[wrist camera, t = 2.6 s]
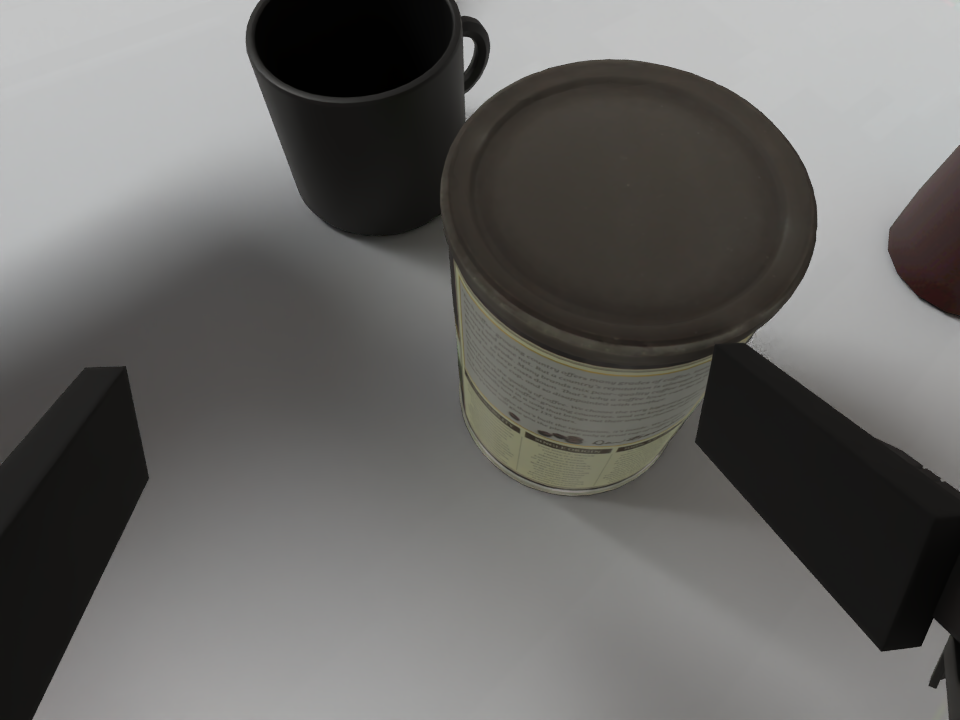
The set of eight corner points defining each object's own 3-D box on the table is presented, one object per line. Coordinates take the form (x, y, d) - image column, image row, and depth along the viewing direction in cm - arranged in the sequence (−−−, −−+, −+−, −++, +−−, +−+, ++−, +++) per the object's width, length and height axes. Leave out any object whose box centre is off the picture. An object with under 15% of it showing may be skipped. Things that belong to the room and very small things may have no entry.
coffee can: (431, 327, 32) (399, 97, 19) (625, 275, 33) (714, 27, 21) (495, 530, 28) (508, 403, 15) (716, 460, 29) (897, 291, 16)
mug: (537, 164, 37) (553, 17, 29) (352, 269, 34) (311, 137, 25) (442, 69, 40) (432, -87, 32) (267, 155, 37) (207, 8, 29)
